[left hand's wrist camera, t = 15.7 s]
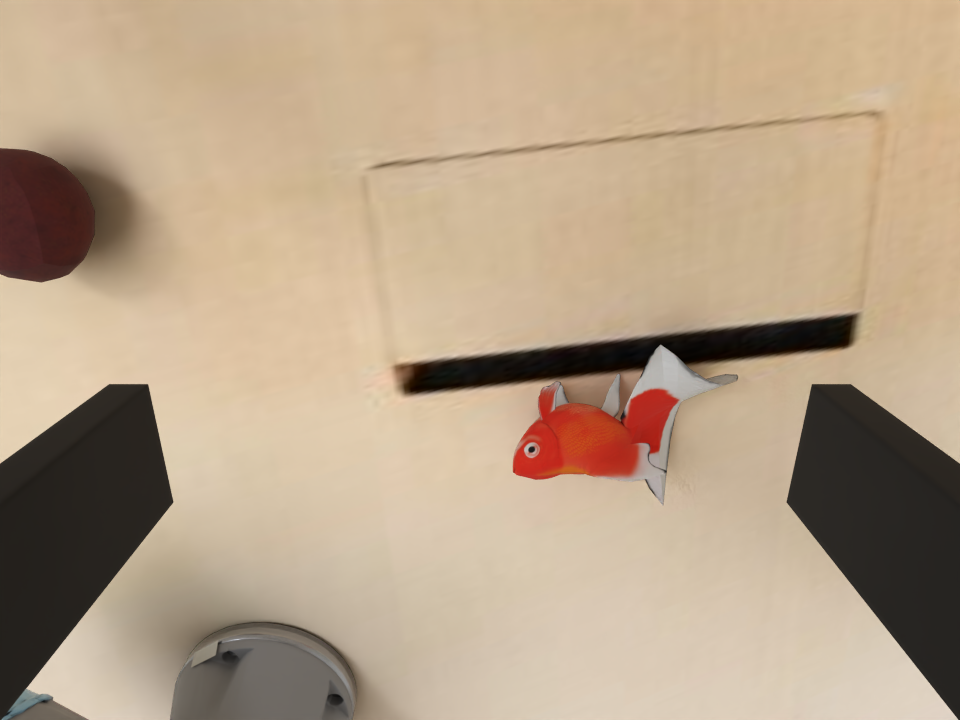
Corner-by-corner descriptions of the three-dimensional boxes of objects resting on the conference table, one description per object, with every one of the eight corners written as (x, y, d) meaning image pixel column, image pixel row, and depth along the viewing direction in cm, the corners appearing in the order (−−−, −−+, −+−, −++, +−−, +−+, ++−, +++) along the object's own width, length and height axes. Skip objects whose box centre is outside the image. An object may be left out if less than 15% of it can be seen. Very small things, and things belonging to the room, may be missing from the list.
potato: (99, 141, 38) (21, 146, 32) (133, 265, 41) (67, 293, 34) (-18, 149, 38) (-120, 156, 32) (24, 272, 41) (-62, 302, 35)
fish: (496, 325, 38) (583, 442, 31) (695, 287, 44) (803, 378, 37) (477, 444, 45) (545, 560, 38) (651, 397, 51) (735, 490, 44)
